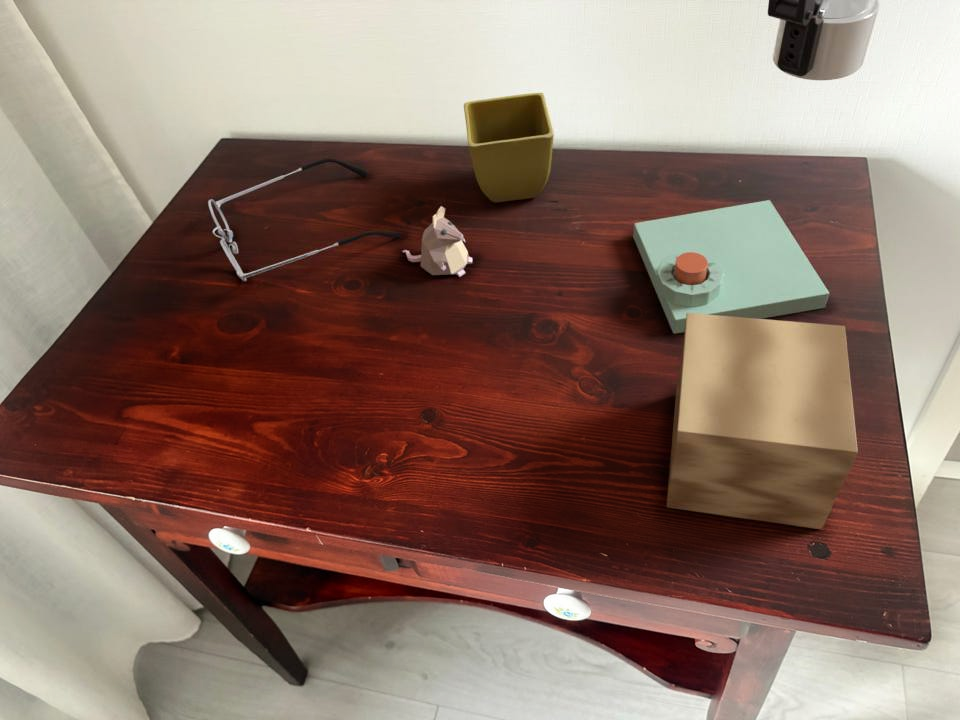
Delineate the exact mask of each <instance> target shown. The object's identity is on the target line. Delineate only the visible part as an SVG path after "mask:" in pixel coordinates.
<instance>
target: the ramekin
mask: <svg viewBox="0 0 960 720" xmlns="http://www.w3.org/2000/svg"><path fill="white" fill-rule="evenodd" d="M815 1H816V0H815ZM879 9H880V1H879V0H831V1H830V4H829V6H828V9H827V11H826V14H825V16H824V18H823V20H824V21H823V26H822V30H821V34H820V39H819V43H818V47H817V51H816V56H815V60H814V64H813V68H812V70H811V71H810V72H808V73H807V74H806V75H804V76H797V75H794V74H791V73H788V72H784V71H782V70H780V71H781V72H783V73H785V74H787V75H789V76H790V77H791V76H792V77H795V78H799V79H802V80H810V81H833V80H839V79H842V78H846V77H849V76H851V75H854V74H855V73H857V72H858V71H859V70H860V69H861V67H862V66H863V64H864V61H865V57H866V54H867V51H868V47H869V43H870V40H871V38H872V37H871V36H872V34H873V29H874V27H875V23H876V20H877V16H878V13H879ZM785 23H786V21H785V20H782V19H779V21H778V26H777V30H776V37H775V42H774V47H773V53H772V62H773V63H774V65H775V66H776V68H777V69H779V67H778V59H779V53H780V48H781V43H782V38H783V33H784V28H785Z"/></svg>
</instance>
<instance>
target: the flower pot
mask: <svg viewBox="0 0 960 720" xmlns="http://www.w3.org/2000/svg"><path fill="white" fill-rule="evenodd" d="M463 111H464V118H465V127H466V137H467V146H468V151H469V154H470V158H471V163H472V167H473V171H474V175H475V178H476V181H477V183H478V186H479V188H480V190H481V191H482V193H483V194H484V196H485V197H487V198H488V200H490V201H491V202H492V203H502V202H504V203H505V202H511V201H518V200H527V199H528V200H529V199H534V198H537V197H538V196H539V195H540V194H541V193H542V191H543V190H544V188H545V186H546V184H547V182H548V181H549V177H550V173H551V167H552V158H553V147H554V137H555V132H554V129H553V125H552V121H551V118H550V114H549V109H548V105H547V101H546V97H545V95H544V93H543V92H529V93H522V94H515V95H507V96H499V97H493V98H485V99H478V100H472V101H467V102H464V103H463Z"/></svg>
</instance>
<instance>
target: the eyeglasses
mask: <svg viewBox="0 0 960 720" xmlns="http://www.w3.org/2000/svg"><path fill="white" fill-rule="evenodd" d="M325 163H335V164H338V165H340V166H342V167H343V168H346V169H347V170H349V171H351V172H353V173H355V174H357V175H358V176H360V177H362V178H365V179H366V178H367V177H368V172H366V171H365V170H363V169H360V168H358V167H356V166H353V165H351V164H348V163H346V162H343V161H341V160H339V159H335V158H325V159H320V160H317V161H314V162H311V163H309V164H305V165H303V166H300V167H298V169H296V170H293V171H292V172H290V173H287V174H285V175H280V176H277V177H275V178H273V179H269V180H267V181H265V182H263V183H260V184H257V185H254V186H252V187H250V188H247V189H245V190H242V191H240V192H237V193H234V194H232V195H229V196H227V197H225V198H222V199H220V200H217V201H215V200H214V199H212V198H211V199H208V201H207V204H208V208H209V211H210V213H211V217H212V219H213V222H214V223H215V225H216V227H215V228H214V229H213V230H212V234H213V236H215V237H217V238H218V239H220V240H219V243H220V246H221V247H222V249H223V251H224V253H225V255H226V257H227V258H228V260H229V262H230V263H231V265H232V266H233V268H234V270H235V271H236V275H237V276H238V278H240V279H241V280H242V281H243V282H244V283H245V282H247V279H248V278H250V277H253V276H256V275H259V274H261V273H264V272H268V271H271V270H273V269H276V268H279V267H281V266H285V265H288V264H290V263H293V262H296V261H298V260H302V259H304V258H307V257H310V256H313V255H316V254H318V253H320V252H322V251H325V250H328V249H330V248H334V247H339V246H343V245H346V244H349V243H351V242H354V241H356V240H359V239H362V238H365V237H368V236H375V235H376V236H380V237H381V236H382V237H387V238H395V239H401V238H402V237H403V234H404V232H395V231H394V232H392V231H378V230H376V231H374V230H373V231H366V232H363V233H359V234H356V235H354V236H351V237H348V238H346V239H342V240H339V241H337V242H335V243H334V244H332V245H329V246H326V247H324V248H321V249H315V250H312V251H310V252H306V253H304V254H300V255H298V256H295V257H292V258H289V259H286V260H283V261H280V262H277V263H274V264H272V265H268V266H265V267H262V268H259V269H256V270H254V271H251V272H248V273H245V272H243V270H242V268H241V266H240V265H239V263H238V262H237V259H236V258H235V256H234V254H235V255H237V254H239V248H238V244H237V242H236V241H233V237H234V232H233V231H232V229H230V226H229V224H228V221H227V220H226V218H225V215H224V213H223V212H222V210H221V206H222V204H225V203H226V202H228V201H231V200H234V199H236V198H238V197H241V196H243V195H246V194H248V193H251V192H253V191H255V190H258V189H260V188H262V187H266V186H268V185H270V184H272V183H275V182H277V181H280V180H282V179H284V178H285V177H287V176H290V175H293V174H295V173H299V172H303V171H306V170H308V169H310V168H314V167H316V166H319V165H322V164H325ZM212 204H213V205H214V207H215V209H216V210H217V211H218V213H219V215H220V217H221V219H222V221H223V223H224V226H225V228H224V229H223V228H222V227H221V225H220V223H219V222H218V219H217V218H216V215H215V212H214V209H213V205H212ZM216 231H217V233H218V234H219V235H217V234H216V233H215V232H216ZM225 231H227V232H225ZM227 243H228V244H227ZM230 246H231V248H230Z"/></svg>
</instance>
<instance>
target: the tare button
mask: <svg viewBox="0 0 960 720" xmlns="http://www.w3.org/2000/svg"><path fill="white" fill-rule="evenodd" d="M707 266H708V262H707V259H706V258H705V257H704V256H703V255H701V254H698V253H694V252H688V253H684V254H681V255H680V256H679V257H678V258H677V259H676V263H675V272H674V276H675V278H676V280H677V281H678V282H680V283H682V284H686V285H697V284H700V283H702V282H703V281H704V280H705V278H706V273H707Z"/></svg>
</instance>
